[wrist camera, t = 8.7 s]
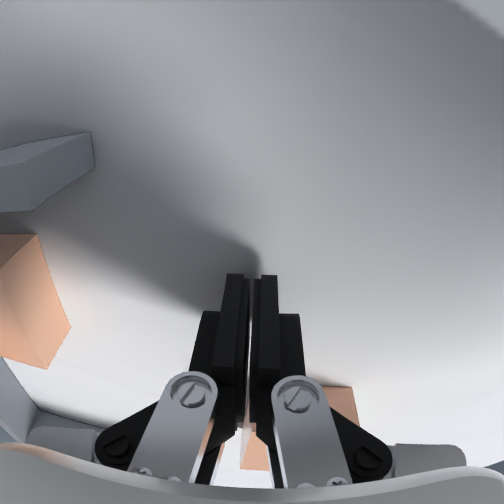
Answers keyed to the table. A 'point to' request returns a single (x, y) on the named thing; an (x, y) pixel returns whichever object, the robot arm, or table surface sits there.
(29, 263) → the light orange-brown block
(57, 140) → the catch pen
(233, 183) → the table surface
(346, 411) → the peach rectangular block
